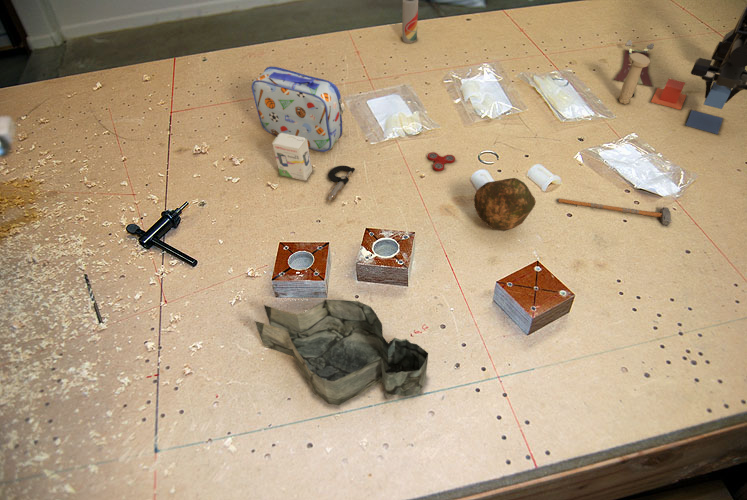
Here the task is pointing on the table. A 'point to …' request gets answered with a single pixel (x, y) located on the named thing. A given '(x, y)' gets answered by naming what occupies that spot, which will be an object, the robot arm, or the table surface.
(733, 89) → the robot arm
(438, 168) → the fidget spinner
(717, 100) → the blue block
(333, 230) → the table surface
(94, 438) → the table surface
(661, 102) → the orange square mat
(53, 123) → the table surface
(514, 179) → the rock
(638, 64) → the handle
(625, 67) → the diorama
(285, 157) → the ink box
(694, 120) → the blue mat
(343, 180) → the micrometer
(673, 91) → the red block
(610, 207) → the sledgehammer
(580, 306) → the table surface
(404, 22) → the spray bottle
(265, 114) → the lunch box
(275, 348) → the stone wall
